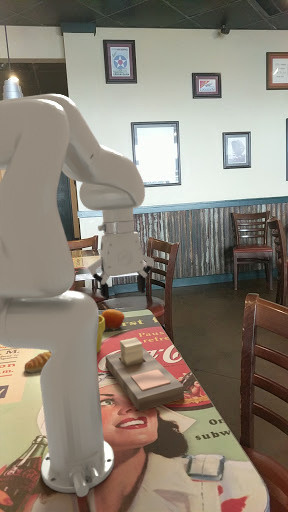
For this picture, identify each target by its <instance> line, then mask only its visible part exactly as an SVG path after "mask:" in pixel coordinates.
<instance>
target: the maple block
mask: <svg viewBox="0 0 288 512" xmlns="http://www.w3.org/2000/svg"><path fill="white" fill-rule="evenodd" d="M142 347H143V342H141V341H140V340H139V339H138V338H137V337H133V338H127V339H122V340H119V348H120V352H121V362H122V363H123V364H124V366H125V367H127V366H131V365H135V364H139V363H143V349H142Z"/></svg>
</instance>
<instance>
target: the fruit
mask: <svg viewBox="0 0 288 512" xmlns="http://www.w3.org/2000/svg"><path fill="white" fill-rule="evenodd" d="M100 316H102V317H104V320H105V330H104V331H106V330H111V331H113V333H115V332H116V331H115V330H118V329H120V328H121V326H122V324H123V322H124V321H125V320H124V319H125V314H124V313H123V312H122V311H120V310H117V309H111V308H109V309H105V310H104V311H102V313H101V315H100Z"/></svg>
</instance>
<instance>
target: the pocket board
mask: <svg viewBox="0 0 288 512" xmlns="http://www.w3.org/2000/svg"><path fill="white" fill-rule="evenodd" d="M142 349H143V363H139V364H135V365H131V366H127V367H125V366H124V364H123V363H122V362H121V351H120V352H115V353H111V354H107V355H105V357H104V358H105V366H106V368H107V369H108V371H109V372H110V373H111V375H112V376H113V378H114V379H115V381H116V382H117V383H118V384H119V386H120V387H121V389H122V391H123V392H125V394H126V395H127V397H128V398H129V400H130V401H131V403H132V404H133V405H134V407H135V408H136V409H137V411H138V412H143V411H146V410H149V409H154V408H155V407H160V406H163V405H166V404H170V403H172V402H176V401H179V400H180V401H181V400H182V399H185V388H184V387H185V386H184V385H183V384H182V383H181V382H180V381H179V380H178V379H177V378H176V377H175V376H174V375H173V374H171V372H170V371H168V369H166V367H164V366H163V365H162V364H161V363H160V362H159V361H158V360H157V359H156V358H155V357H154V356H153V355H152V354H151V353H150V352H149V351H148V350H146V349H145V348H144V347H143V346H142Z"/></svg>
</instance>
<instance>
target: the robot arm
mask: <svg viewBox="0 0 288 512" xmlns="http://www.w3.org/2000/svg"><path fill="white" fill-rule="evenodd" d="M2 170H3V171H4V170H5V172H4V173H3V176H2V178H1V180H0V345H1V346H3V347H6V348H9V349H10V348H11V349H25V350H26V349H27V350H29V349H31V350H43V351H44V350H45V351H48V352H49V351H50V352H51V357H50V359H49V360H48V361H47V362H46V364H45V365H44V367H43V369H42V371H40V375H39V376H40V377H39V383H40V391H41V399H42V407H43V415H44V424H45V425H44V426H45V432H46V441H47V450H48V452H47V454H46V455H45V456H44V457H43V459H42V462H41V467H40V468H41V469H40V471H41V478H42V480H43V482H44V484H45V485H46V486H47V487H49V488H50V489H52V490H54V491H56V492H60V493H71V494H72V493H75V494H76V496H77V497H80V498H82V497H85V496H87V494H88V493H89V490H90V489H92V488H94V487H96V486H98V485H100V484H101V483H102V482H103V481H104V480H106V478H107V477H108V476H109V475H110V474H111V471H113V467H114V465H115V453H114V449H113V448H112V445H110V444H109V443H108V442H107V441H105V439H104V438H105V437H104V427H103V417H102V414H103V413H102V405H101V393H100V383H99V381H100V380H99V372H98V357H97V356H98V355H97V354H98V353H97V333H98V321H99V315H100V314H99V307H98V305H97V303H96V301H95V299H94V298H93V297H91V296H90V295H88V294H87V293H85V292H81V291H77V290H70V289H71V288H72V286H73V284H74V281H75V278H76V273H75V272H76V271H75V264H74V260H73V255H72V253H71V249H70V246H69V243H68V239H67V235H66V233H65V229H64V226H63V223H62V220H61V216H60V213H59V212H60V210H59V207H58V199H57V197H58V196H57V194H58V187H59V183H60V178H61V174H62V173H63V174H64V175H65V176H66V177H68V178H69V179H70V180H73V181H76V182H79V183H81V184H80V187H79V191H78V193H79V194H78V195H79V199H80V202H81V204H82V205H83V207H85V209H88V210H91V211H97V212H98V211H102V223H101V224H100V225H98V226H97V230H98V232H102V233H103V234H101V238H100V240H101V241H100V256H99V258H98V260H96V261H95V262H94V263H92V264H91V265H88V266H87V270H88V272H89V273H90V275H91V277H92V278H93V279H95V280H96V281H97V282H98V283H99V288H100V289H99V290H100V295H101V297H102V298H103V299H105V300H107V301H108V300H109V299H110V293H109V284H108V283H107V282H108V280H109V278H111V277H116V276H123V275H129V274H136V273H137V276H136V283H137V291H138V292H139V293H141V294H144V293H146V288H147V285H146V284H147V283H146V281H147V280H146V278H147V277H148V274H149V272H150V271H151V269H152V266H153V263H154V261H155V259H154V258H152V257H150V256H148V255H146V254H143V250H142V244H141V240H140V235H139V232H137V231H135V219H134V209H137V208H139V207H141V205H142V204H143V203H144V200H145V196H146V190H145V189H146V188H145V184H144V182H143V179H142V175H141V174H140V171H139V170H138V168H137V166H136V164H135V163H134V162H133V160H131V159H130V158H128V157H126V156H125V155H123V154H122V153H119V152H117V151H115V150H114V149H111V148H108V147H107V146H104V145H101V144H100V143H99V141H98V140H97V138H96V136H95V134H94V133H93V131H92V130H91V128H90V127H89V125H88V123H87V121H86V120H85V118H84V117H83V115H82V113H81V111H80V109H79V108H78V107H77V105H76V104H75V103H74V101H72V99H70V98H69V97H67V96H65V95H62V94H58V93H57V94H56V93H46V94H45V93H44V94H38V95H31V96H29V95H28V96H23V97H13V98H7V99H3V100H0V171H2ZM144 261H145V263H144ZM99 267H100V270H101V274H100V275H99V274H98V273H97V269H99Z"/></svg>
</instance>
